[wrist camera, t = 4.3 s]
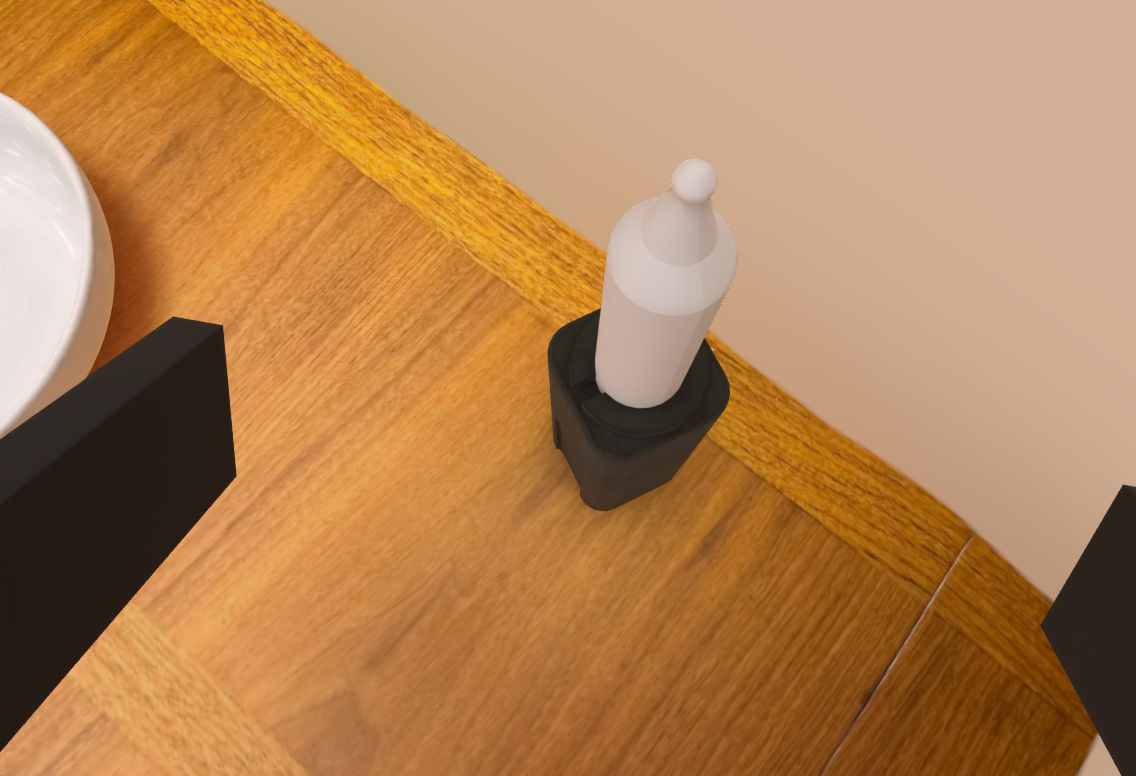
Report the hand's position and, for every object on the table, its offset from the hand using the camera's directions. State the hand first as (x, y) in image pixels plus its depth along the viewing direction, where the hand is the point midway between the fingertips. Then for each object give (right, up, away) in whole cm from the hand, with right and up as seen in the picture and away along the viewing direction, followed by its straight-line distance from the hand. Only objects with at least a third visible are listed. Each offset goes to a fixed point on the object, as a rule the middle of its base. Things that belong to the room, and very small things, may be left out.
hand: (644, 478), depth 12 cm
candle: (+1, -2, +27) cm, 27 cm away
